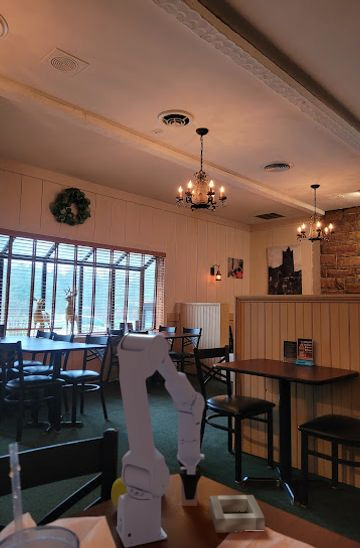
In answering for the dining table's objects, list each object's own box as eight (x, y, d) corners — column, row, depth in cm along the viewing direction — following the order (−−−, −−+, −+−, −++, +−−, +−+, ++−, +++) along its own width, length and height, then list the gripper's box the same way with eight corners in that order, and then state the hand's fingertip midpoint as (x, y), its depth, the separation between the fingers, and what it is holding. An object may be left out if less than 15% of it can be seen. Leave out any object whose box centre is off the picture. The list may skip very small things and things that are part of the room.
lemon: (129, 516, 98) (129, 482, 99) (107, 514, 99) (108, 480, 100) (136, 505, 104) (136, 473, 104) (115, 503, 105) (116, 471, 105)
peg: (197, 505, 104) (197, 472, 105) (181, 505, 104) (181, 473, 105) (195, 498, 108) (195, 466, 109) (180, 498, 108) (180, 466, 108)
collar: (216, 532, 92) (216, 518, 92) (209, 508, 103) (209, 495, 103) (264, 531, 92) (264, 517, 93) (253, 507, 103) (253, 495, 104)
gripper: (207, 447, 100) (207, 505, 99) (201, 429, 115) (200, 479, 114) (178, 447, 100) (178, 505, 99) (176, 429, 114) (175, 480, 113)
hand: (188, 492), depth 106 cm, fingers open, 7 cm apart
